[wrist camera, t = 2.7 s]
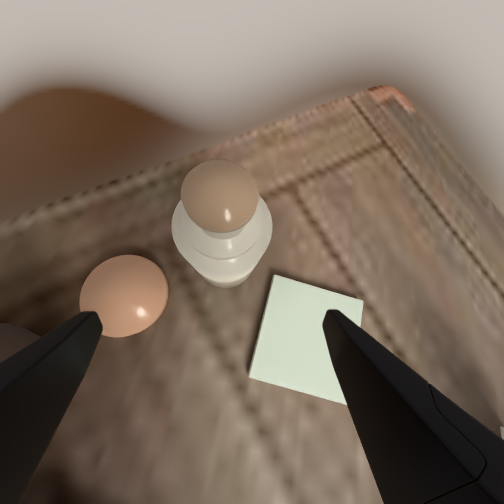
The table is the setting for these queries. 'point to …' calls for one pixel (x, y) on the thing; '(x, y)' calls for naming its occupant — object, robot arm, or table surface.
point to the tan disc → (125, 294)
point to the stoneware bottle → (221, 222)
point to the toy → (14, 339)
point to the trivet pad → (299, 338)
